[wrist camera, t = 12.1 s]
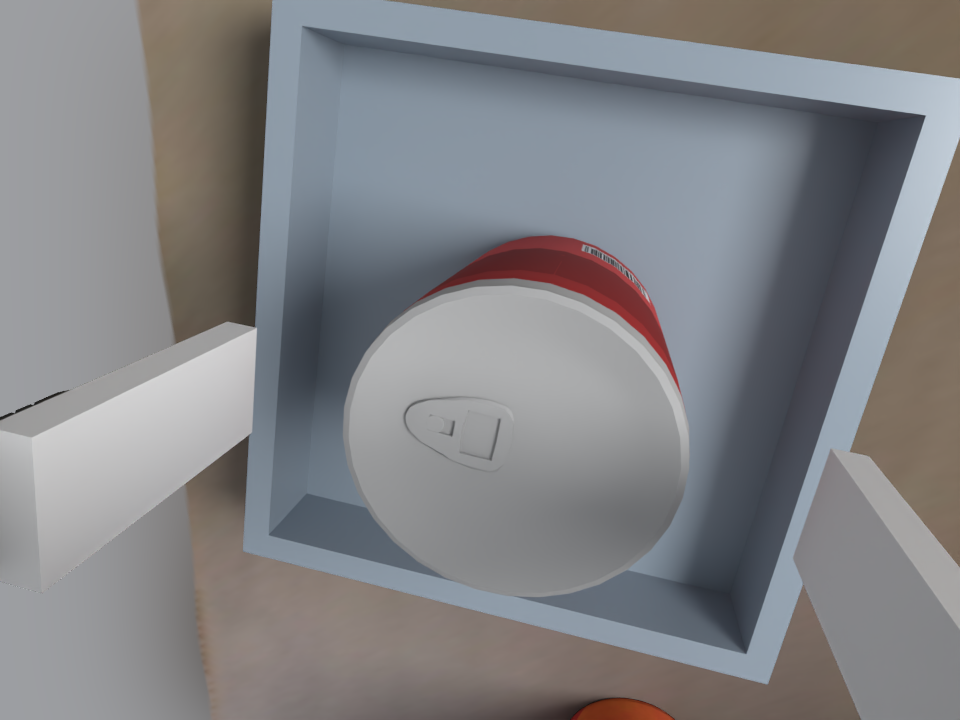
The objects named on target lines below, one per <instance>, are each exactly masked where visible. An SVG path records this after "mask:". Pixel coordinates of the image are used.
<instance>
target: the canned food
mask: <svg viewBox="0 0 960 720" xmlns="http://www.w3.org/2000/svg"><path fill="white" fill-rule="evenodd" d="M343 440H344V446H345V453H346V459H347V465H348V467H349V470H350V473H351V476H352V478H353V481H354V484H355V486H356V489H357V492H358V494H359V495H360V497H361V499H362V500H363V502H364V504H365V505H366V507H367V509H368V510H369V512H370V514H371V515H372V517H373V519H374V520H375V521H376V522H377V523H378V524H379V526H380V527H381V528H382V529H383V530H384V531H385V532H386V534H387V535H388V536H389V537H390V538H391V539H392V540H393V542H394V543H396V544H397V545H398V546H399V547H401V548H402V549H403V550H404V551H405V552H407V553H408V554H409V555H410V556H412V557H413V558H414V559H415V560H416V561H418V562H419V563H421V564H423V565H424V566H426V567H428V568H430V569H431V570H433V571H435V572H436V573H438V574H440V575H442V576H443V577H445V578H447V579H450V580H453V581H455V582H458V583H460V584H463V585H466V586H468V587H471V588H473V589H477V590H481V591H486V592H491V593H495V594H500V595H505V596H521V597H545V596H553V595H562V594H570V593H573V592H576V591H580V590H583V589H586V588H589V587H593V586H596V585H599V584H601V583H603V582H605V581H607V580H609V579H611V578H613V577H614V576H616V575H618V574H620V573H622V572H624V571H626V570H627V569H629V568H630V567H631V566H632V565H634V564H635V563H636V562H637V561H638V560H640V559H641V558H642V557H643V556H644V555H646V554H647V553H648V552H649V551H651V549H652V548H653V547H654V546H655V544H656V543H657V542H658V540H659V539H660V538H661V537H662V535H663V534H664V533H665V532H666V530H667V529H668V528H669V527H670V525H671V522H672V520H673V518H674V516H675V514H676V512H677V510H678V508H679V506H680V503H681V501H682V499H683V495H684V490H685V486H686V481H687V476H688V472H689V459H690V451H689V424H688V420H687V416H686V412H685V407H684V403H683V399H682V395H681V391H680V387H679V383H678V379H677V376H676V373H675V370H674V367H673V363H672V360H671V357H670V354H669V351H668V348H667V345H666V342H665V338H664V335H663V332H662V329H661V326H660V323H659V320H658V317H657V313H656V310H655V307H654V305H653V303H652V301H651V299H650V297H649V295H648V293H647V291H646V289H645V288H644V286H643V285H642V284H641V282H640V281H639V280H638V279H637V277H636V276H635V275H634V273H633V272H632V271H631V270H630V269H629V268H627V267H626V266H625V265H624V264H623V263H622V262H620V261H619V260H618V259H617V258H616V257H614V256H613V255H611V254H609V253H607V252H606V251H604V250H602V249H600V248H599V247H597V246H595V245H592V244H589V243H586V242H583V241H580V240H577V239H574V238H567V237H560V236H553V235H548V236H530V237H525V238H521V239H518V240H514V241H510V242H507V243H505V244H503V245H500V246H498V247H496V248H494V249H492V250H490V251H488V252H487V253H485V254H484V255H482V256H481V257H479V258H478V259H476V260H475V261H473V262H472V263H470V264H469V265H468V266H466V267H465V268H463V269H462V270H460V271H459V272H457V273H456V274H454V275H453V276H451V277H450V278H448V279H447V280H446V281H444V282H443V283H441V284H440V285H438V286H437V287H435V288H434V289H432V290H431V291H429V292H428V293H427V294H425V295H424V296H423V297H421V298H420V299H419V300H417V301H416V302H415V303H413V304H412V305H411V306H409V307H408V308H407V309H405V310H404V311H403V312H402V313H401V314H400V315H398V316H397V317H396V318H394V319H393V320H392V321H391V322H390V323H389V324H388V325H387V326H386V328H385V329H384V330H383V331H382V332H381V333H380V335H379V336H378V337H377V338H376V339H375V341H374V342H373V343H372V344H371V346H370V347H369V349H368V350H367V351H366V352H365V354H364V356H363V358H362V360H361V362H360V364H359V365H358V367H357V369H356V371H355V373H354V375H353V377H352V379H351V383H350V387H349V390H348V394H347V398H346V402H345V405H344V420H343Z"/></svg>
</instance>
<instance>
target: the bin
mask: <svg viewBox="0 0 960 720" xmlns="http://www.w3.org/2000/svg"><path fill="white" fill-rule="evenodd" d="M959 138H960V79H958V78H951V77H943V76H936V75H929V74H921V73H914V72H907V71H899V70H892V69H885V68H877V67H870V66H862V65H855V64H848V63H840V62H833V61H826V60H818V59H811V58H804V57H796V56H789V55H782V54H774V53H767V52H760V51H752V50H745V49H738V48H730V47H723V46H716V45H708V44H701V43H694V42H686V41H679V40H672V39H664V38H657V37H649V36H642V35H635V34H627V33H620V32H613V31H605V30H598V29H591V28H583V27H576V26H569V25H561V24H554V23H547V22H539V21H532V20H525V19H517V18H510V17H503V16H495V15H488V14H481V13H473V12H466V11H459V10H451V9H444V8H436V7H429V6H422V5H414V4H407V3H400V2H392V1H385V0H273V1H272V20H271V38H270V57H269V76H268V94H267V113H266V132H265V150H264V169H263V188H262V206H261V225H260V244H259V262H258V281H257V300H256V318H255V328H257V339H256V360H255V381H254V402H253V424H252V433H251V434H249V449H248V468H247V486H246V505H245V524H244V542H243V552H247V553H251V554H255V555H259V556H263V557H267V558H271V559H275V560H279V561H283V562H287V563H291V564H294V565H298V566H302V567H306V568H310V569H314V570H318V571H322V572H326V573H330V574H334V575H338V576H342V577H346V578H350V579H354V580H358V581H362V582H365V583H369V584H373V585H377V586H381V587H385V588H389V589H393V590H397V591H401V592H405V593H409V594H413V595H417V596H421V597H425V598H429V599H432V600H436V601H440V602H444V603H448V604H452V605H456V606H460V607H464V608H468V609H472V610H476V611H480V612H484V613H488V614H492V615H496V616H500V617H503V618H507V619H511V620H515V621H519V622H523V623H527V624H531V625H535V626H539V627H543V628H547V629H551V630H555V631H559V632H563V633H567V634H570V635H574V636H578V637H582V638H586V639H590V640H594V641H598V642H602V643H606V644H610V645H614V646H618V647H622V648H626V649H630V650H634V651H637V652H641V653H645V654H649V655H653V656H657V657H661V658H665V659H669V660H673V661H677V662H681V663H685V664H689V665H693V666H697V667H701V668H705V669H708V670H712V671H716V672H720V673H724V674H728V675H732V676H736V677H740V678H744V679H748V680H752V681H756V682H760V683H764V684H768V682H769V679H770V677H771V674H772V671H773V668H774V665H775V662H776V659H777V657H778V654H779V651H780V648H781V645H782V642H783V640H784V637H785V634H786V631H787V628H788V625H789V622H790V620H791V617H792V614H793V611H794V608H795V605H796V603H797V600H798V597H799V594H800V591H801V588H802V585H803V582H802V579H801V577H800V575H799V572H798V570H797V567H796V565H795V563H794V560H793V556H794V553H795V550H796V547H797V544H798V541H799V538H800V536H801V533H802V530H803V527H804V524H805V521H806V518H807V515H808V513H809V510H810V507H811V504H812V501H813V498H814V495H815V492H816V490H817V487H818V484H819V481H820V478H821V475H822V472H823V469H824V467H825V464H826V461H827V458H828V455H829V452H830V449H831V448H832V449H837V450H842V451H847V452H850V449H851V446H852V443H853V440H854V437H855V434H856V432H857V429H858V426H859V423H860V420H861V417H862V414H863V412H864V409H865V406H866V403H867V400H868V397H869V395H870V392H871V389H872V386H873V383H874V380H875V377H876V375H877V372H878V369H879V366H880V363H881V360H882V358H883V355H884V352H885V349H886V346H887V343H888V340H889V338H890V335H891V332H892V329H893V326H894V323H895V320H896V318H897V315H898V312H899V309H900V306H901V303H902V301H903V298H904V295H905V292H906V289H907V286H908V283H909V281H910V278H911V275H912V272H913V269H914V266H915V263H916V261H917V258H918V255H919V252H920V249H921V246H922V244H923V241H924V238H925V235H926V232H927V229H928V226H929V224H930V221H931V218H932V215H933V212H934V209H935V207H936V204H937V201H938V198H939V195H940V192H941V189H942V187H943V184H944V181H945V178H946V175H947V172H948V169H949V167H950V164H951V161H952V158H953V155H954V152H955V150H956V147H957V144H958V141H959ZM548 235H553V236H560V237H567V238H574V239H577V240H580V241H583V242H586V243H589V244H592V245H595V246H597V247H599V248H600V249H602V250H604V251H606V252H607V253H609V254H611V255H613V256H614V257H616V258H617V259H618V260H619V261H620V262H622V263H623V264H624V265H625V266H626V267H627V268H629V269H630V270H631V271H632V272H633V273H634V275H635V276H636V277H637V279H638V280H639V281H640V282H641V284H642V285H643V286H644V288H645V289H646V291H647V293H648V295H649V297H650V299H651V301H652V303H653V305H654V307H655V310H656V313H657V317H658V320H659V323H660V326H661V329H662V332H663V335H664V338H665V342H666V345H667V348H668V351H669V354H670V357H671V360H672V363H673V367H674V370H675V373H676V376H677V379H678V383H679V387H680V391H681V395H682V399H683V403H684V407H685V412H686V416H687V420H688V424H689V451H690V459H689V472H688V476H687V481H686V486H685V490H684V495H683V499H682V501H681V503H680V506H679V508H678V510H677V512H676V514H675V516H674V518H673V520H672V522H671V525H670V527H669V528H668V529H667V530H666V532H665V533H664V534H663V535H662V537H661V538H660V539H659V540H658V542H657V543H656V544H655V546H654V547H653V548H652V549H651V551H649V552H648V553H647V554H646V555H644V556H643V557H642V558H641V559H640V560H638V561H637V562H636V563H635V564H634V565H632V566H631V567H630V568H629V569H627V570H626V571H624V572H622V573H620V574H618V575H616V576H614V577H613V578H611V579H609V580H607V581H605V582H603V583H601V584H599V585H596V586H593V587H589V588H586V589H583V590H580V591H576V592H573V593H570V594H562V595H553V596H545V597H521V596H505V595H500V594H495V593H491V592H486V591H481V590H477V589H473V588H471V587H468V586H466V585H463V584H460V583H458V582H455V581H453V580H450V579H447V578H445V577H443V576H442V575H440V574H438V573H436V572H435V571H433V570H431V569H430V568H428V567H426V566H424V565H423V564H421V563H419V562H418V561H416V560H415V559H414V558H413V557H412V556H410V555H409V554H408V553H407V552H405V551H404V550H403V549H402V548H401V547H399V546H398V545H397V544H396V543H394V542H393V540H392V539H391V538H390V537H389V536H388V535H387V534H386V532H385V531H384V530H383V529H382V528H381V527H380V526H379V524H378V523H377V522H376V521H375V520H374V519H373V517H372V515H371V514H370V512H369V510H368V509H367V507H366V505H365V504H364V502H363V500H362V499H361V497H360V495H359V494H358V492H357V489H356V486H355V484H354V481H353V478H352V476H351V473H350V470H349V467H348V465H347V459H346V453H345V446H344V440H343V420H344V405H345V402H346V398H347V394H348V390H349V387H350V383H351V379H352V377H353V375H354V373H355V371H356V369H357V367H358V365H359V364H360V362H361V360H362V358H363V356H364V354H365V352H366V351H367V350H368V349H369V347H370V346H371V344H372V343H373V342H374V341H375V339H376V338H377V337H378V336H379V335H380V333H381V332H382V331H383V330H384V329H385V328H386V326H387V325H388V324H389V323H390V322H391V321H392V320H393V319H394V318H396V317H397V316H398V315H400V314H401V313H402V312H403V311H404V310H405V309H407V308H408V307H409V306H411V305H412V304H413V303H415V302H416V301H417V300H419V299H420V298H421V297H423V296H424V295H425V294H427V293H428V292H429V291H431V290H432V289H434V288H435V287H437V286H438V285H440V284H441V283H443V282H444V281H446V280H447V279H448V278H450V277H451V276H453V275H454V274H456V273H457V272H459V271H460V270H462V269H463V268H465V267H466V266H468V265H469V264H470V263H472V262H473V261H475V260H476V259H478V258H479V257H481V256H482V255H484V254H485V253H487V252H488V251H490V250H492V249H494V248H496V247H498V246H500V245H503V244H505V243H507V242H510V241H514V240H518V239H521V238H525V237H530V236H548Z"/></svg>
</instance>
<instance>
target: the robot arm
mask: <svg viewBox="0 0 960 720" xmlns="http://www.w3.org/2000/svg"><path fill="white" fill-rule="evenodd" d="M256 339H257V328H255V327H251V326H246V325H241V324H236V323H232V322H225V323H223V324H221V325H219V326H216V327H214V328H212V329H209V330H207V331H205V332H202V333H200V334H198V335H196V336H193V337H191V338H189V339H186V340H184V341H182V342H179V343H177V344H175V345H173V346H170V347H168V348H166V349H163V350H161V351H159V352H157V353H154V354H152V355H150V356H147V357H145V358H143V359H140V360H138V361H136V362H134V363H131V364H129V365H127V366H124V367H122V368H120V369H117V370H115V371H113V372H111V373H108V374H106V375H104V376H101V377H99V378H97V379H94V380H92V381H90V382H88V383H85V384H83V385H81V386H78V387H76V388H74V389H72V390H67V391H62V392H58V393H56V394H53V395H51V396H48V397H46V398H44V399H42V400H39V401H37V402H35V404H34V405H31V404H30V405H28V406H25V407H23V408H21V409H18V410H16V412H15V413H9V414H7V415H4V416H2V417H0V582H3V583H7V584H10V585H14V586H17V587H21V588H25V589H28V590H32V591H35V592H39V593H43V592H44V591H45V590H47V589H48V588H49V587H51V586H52V585H53V584H55V583H56V582H57V581H59V580H60V579H61V578H63V577H64V576H65V575H66V574H67V573H69V572H70V571H72V570H73V569H74V568H76V567H77V566H78V565H79V564H81V563H82V562H83V561H85V560H86V559H87V558H89V557H90V556H91V555H93V554H94V553H95V552H96V551H98V550H99V549H100V548H102V547H103V546H104V545H106V544H107V543H108V542H110V541H111V540H112V539H113V538H115V537H116V536H117V535H119V534H120V533H121V532H123V531H124V530H125V529H127V528H128V527H129V526H130V525H132V524H133V523H134V522H136V521H137V520H138V519H140V518H141V517H142V516H144V515H145V514H146V513H147V512H149V511H150V510H151V509H153V508H154V507H155V506H157V505H158V504H159V503H160V502H162V501H163V500H164V499H166V498H167V497H168V496H170V495H171V494H172V493H174V492H175V491H176V490H177V489H179V488H180V487H181V486H183V485H184V484H185V483H187V482H188V481H189V480H191V479H192V478H193V477H195V476H196V475H197V474H198V473H200V472H201V471H202V470H204V469H205V468H206V467H208V466H209V465H210V464H211V463H213V462H214V461H215V460H217V459H218V458H219V457H221V456H222V455H223V454H225V453H226V452H227V451H228V450H230V449H231V448H232V447H234V446H235V445H236V444H238V443H239V442H240V441H242V440H243V439H244V438H245V437H247V436H248V435H249V434H251V433H252V424H253V402H254V381H255V360H256ZM793 560H794V563H795V565H796V567H797V570H798V572H799V575H800V577H801V579H802V582H803V584H804V586H805V589H806V591H807V593H808V596H809V598H810V600H811V603H812V605H813V608H814V610H815V612H816V615H817V617H818V619H819V622H820V624H821V626H822V629H823V631H824V633H825V636H826V638H827V641H828V643H829V645H830V648H831V650H832V652H833V655H834V657H835V659H836V662H837V664H838V667H839V669H840V671H841V674H842V676H843V678H844V681H845V683H846V685H847V688H848V690H849V692H850V695H851V697H852V700H853V702H854V704H855V707H856V709H857V711H858V714H859V716H860V718H861V720H960V567H959V566H958V565H957V564H956V562H955V561H954V560H953V559H952V558H951V556H950V555H949V554H948V553H947V551H946V550H945V549H944V548H943V546H942V545H941V544H940V543H939V542H938V540H937V539H936V538H935V537H934V535H933V534H932V533H931V532H930V531H929V529H928V528H927V527H926V526H925V524H924V523H923V522H922V521H921V520H920V518H919V517H918V516H917V515H916V513H915V512H914V511H913V510H912V508H911V507H910V506H909V505H908V504H907V502H906V501H905V500H904V499H903V497H902V496H901V495H900V494H899V493H898V491H897V490H896V489H895V488H894V486H893V485H892V484H891V483H890V481H889V480H888V479H887V478H886V477H885V475H884V474H883V473H882V472H881V470H880V469H879V468H878V467H877V466H876V464H875V463H874V462H873V461H872V459H871V458H870V457H869V456H866V455H861V454H856V453H851V452H847V451H842V450H837V449H832V448H831V449H830V452H829V455H828V458H827V461H826V464H825V467H824V469H823V472H822V475H821V478H820V481H819V484H818V487H817V490H816V492H815V495H814V498H813V501H812V504H811V507H810V510H809V513H808V515H807V518H806V521H805V524H804V527H803V530H802V533H801V536H800V538H799V541H798V544H797V547H796V550H795V553H794V556H793Z"/></svg>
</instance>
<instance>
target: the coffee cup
mask: <svg viewBox="0 0 960 720" xmlns="http://www.w3.org/2000/svg"><path fill="white" fill-rule="evenodd" d="M571 720H675V719H674V718H672V717H671V716H670V715H669V714H667V713H666V712H664V711H663V710H661V709H659V708H657V707H655V706H653V705H651V704H648V703H645V702H642V701H638V700H633V699H626V698H613V699H605V700H601V701H597V702H594V703H592V704H590V705H587V706H586V707H584V708H582V709H581V710H580V711H578V712H577V713H576V714H575V715H574V716H573V717H572V718H571Z"/></svg>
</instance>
